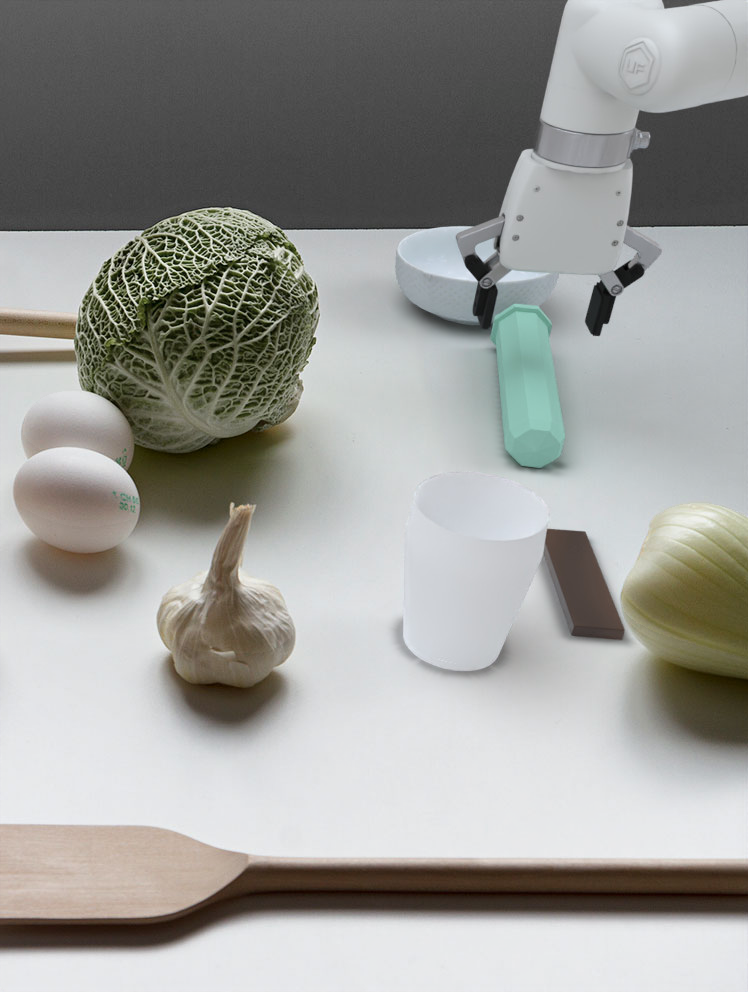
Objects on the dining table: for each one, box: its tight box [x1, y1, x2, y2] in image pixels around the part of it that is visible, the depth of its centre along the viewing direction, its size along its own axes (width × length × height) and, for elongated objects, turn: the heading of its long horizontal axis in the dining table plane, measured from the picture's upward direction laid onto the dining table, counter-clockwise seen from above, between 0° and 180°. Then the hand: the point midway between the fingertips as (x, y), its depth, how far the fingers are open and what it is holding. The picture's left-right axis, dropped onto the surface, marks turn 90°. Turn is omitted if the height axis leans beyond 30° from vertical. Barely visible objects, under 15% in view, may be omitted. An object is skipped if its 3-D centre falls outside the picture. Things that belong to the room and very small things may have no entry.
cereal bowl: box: [394, 225, 560, 326], centre depth 141 cm, size 17×17×7 cm
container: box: [490, 304, 566, 469], centre depth 122 cm, size 6×6×25 cm
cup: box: [402, 471, 550, 672], centre depth 90 cm, size 9×9×12 cm
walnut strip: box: [543, 528, 626, 641], centre depth 99 cm, size 4×13×1 cm, turn 171°
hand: (537, 326), depth 119 cm, fingers open, 9 cm apart
